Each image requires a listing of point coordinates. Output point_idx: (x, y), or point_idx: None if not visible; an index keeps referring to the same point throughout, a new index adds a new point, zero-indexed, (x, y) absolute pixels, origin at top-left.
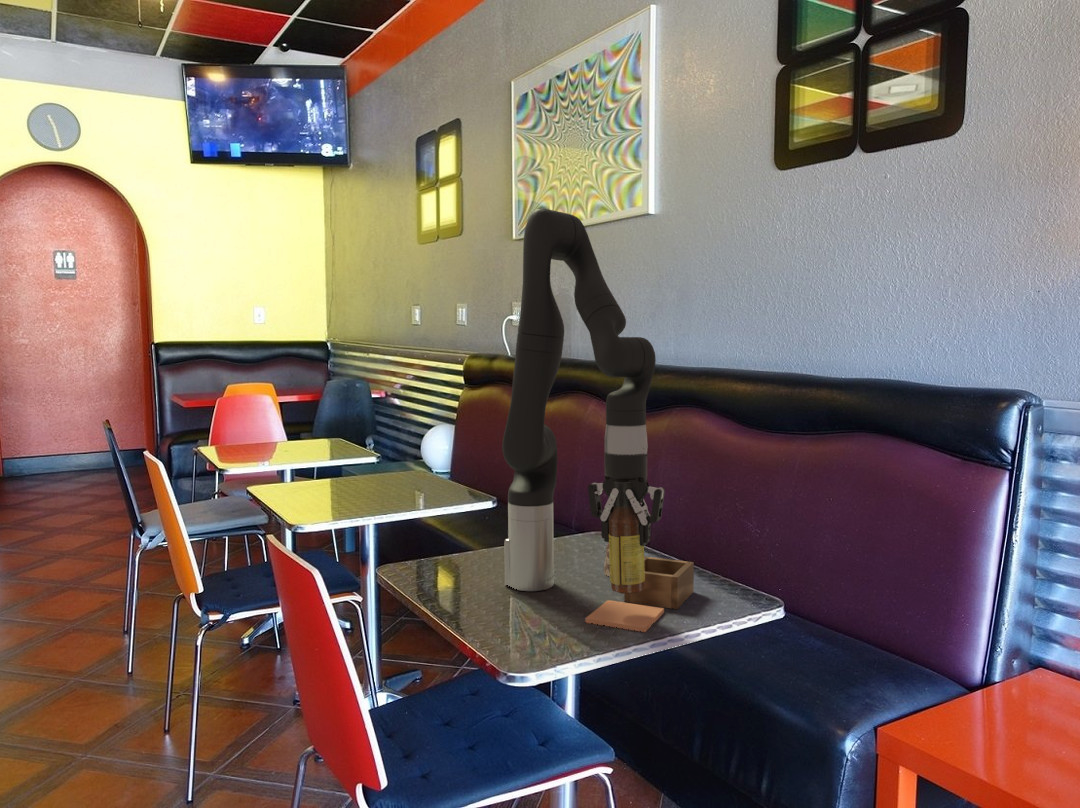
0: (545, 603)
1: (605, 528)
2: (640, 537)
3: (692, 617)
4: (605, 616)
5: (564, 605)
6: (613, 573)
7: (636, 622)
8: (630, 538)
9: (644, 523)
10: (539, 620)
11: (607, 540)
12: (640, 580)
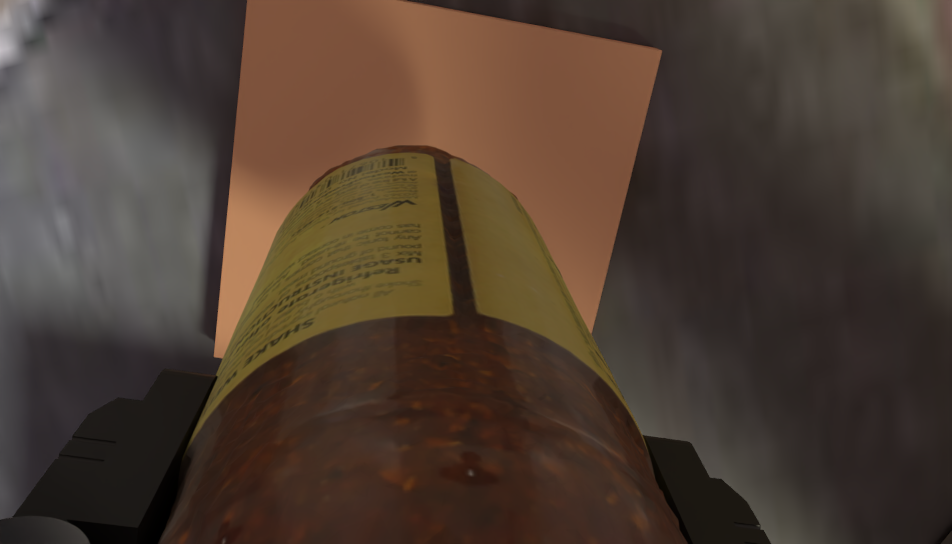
0: (935, 319)
1: (722, 535)
2: (181, 418)
3: (39, 311)
4: (540, 118)
5: (819, 315)
6: (516, 212)
7: (325, 58)
8: (306, 328)
9: (23, 538)
10: (947, 14)
11: (649, 438)
12: (280, 228)
